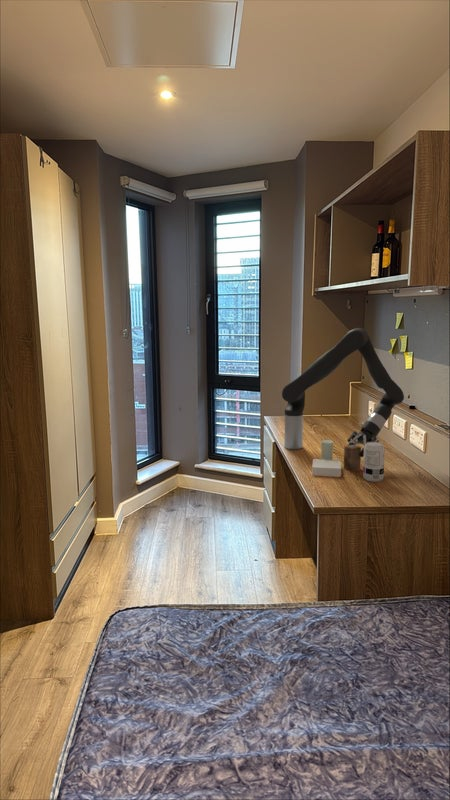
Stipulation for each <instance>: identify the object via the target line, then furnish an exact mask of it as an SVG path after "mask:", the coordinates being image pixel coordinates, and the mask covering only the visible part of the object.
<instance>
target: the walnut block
mask: <svg viewBox="0 0 450 800" xmlns="http://www.w3.org/2000/svg"><path fill="white" fill-rule="evenodd" d="M343 448H344V450H343V453H344V454H343V455H344V456H343V469H346V470H348V471H350V472H354V471H358V470H359V471H360V470H361V459H362V457H360V456H359V453H360V452H361V450H362V447H361V446H357V444H356V445H349V446H348V445H344V447H343Z"/></svg>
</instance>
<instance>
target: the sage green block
mask: <svg viewBox="0 0 450 800" xmlns="http://www.w3.org/2000/svg"><path fill="white" fill-rule="evenodd" d="M333 447H334V441H333V440H329V439H327V440H326V439H325V440H323V439H322V440H321V450H320V451H321V457H320V458H321V459H322V460H334V459H333V457H334V456H333V452H334V450H333V449H334V448H333Z"/></svg>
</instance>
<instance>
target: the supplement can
mask: <svg viewBox="0 0 450 800" xmlns="http://www.w3.org/2000/svg"><path fill="white" fill-rule="evenodd" d="M363 448H364V456H363V461H362V462H363V465H362V467H363V468H362V478H363V479H364V480H365V481H368V482H374V483H377V482H378V483H379V482H382V480H384V478H385V473H384V472H385V455H386V454H385V453H386V452H385V451H386V449H385V448H386V447H385V446H384V444H383V443H381V442H379V441H378V442H367V443H366V444H365V446H364V445H363Z"/></svg>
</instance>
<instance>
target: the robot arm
mask: <svg viewBox="0 0 450 800" xmlns="http://www.w3.org/2000/svg"><path fill="white" fill-rule="evenodd" d="M370 338H371V337H370V336H369V333H368V332H367V331H366V330H365V329H364V328H361V327H356V328H353V329H351V330H349V331H348V332H347V333H346V334H345V335H344V336H343V337H342V338H341V340H340V341H339V342H337V343H336V345H335V346H332V348H331V349H329V350H328V351H326V352H325V353H324V354H322V355H321V356H320V357H318V358H317V359H316V360H315V361H314V362H313V363H312V364H311V365H310V366H308V367H307V368H306V369H305V370H304V371H303V372H302V373H301V374H300V375H299V376H297V378H295V379H293V380H292V381H290V382H289V383H288V384H287V385H285V386H284V387H283V389H282V391H281V397H282V399H283V401H286V402H287V405H286V407H285V409H284V448H285V449H287V450H300V448H301V449H303V444H304V442H303V440H304V439H303V438H304V437H303V436H304V434H303V433H304V423H303V422H304V410H305V405H306V404H305V400H306V391H307V390H308V389H309V388H311V387H312V386H314V385H316V384H317V383H319V382H321V381H323V380H324V379H325V378H327V377H328V376H329V375H330V374H332V373H333V372H334V371H335V370H336V369H337V368H338V367H339V366H340V364H342V362H343V361H344V360H345V359H346V358H347V357H348V356H350V355H351V354H353V353H354V352H356V351H358V352H359V353H360V354H361V356H362V358H363V360H364V362H365V364H366V367H367V370H368V373H369V374H370V377H371V378H372V380H373V381H374V383H375V385H376V387H378V389H382V390H383V391H384V392H385V393H384V394H383V395H382V397H381V398H380V400H379V402H378V405H377V406H376V408H375V409H374V410H373V412H372V413H371V414H369V416H368V417H367V419H366V421H364V423H363V425H362V426H361V428H360V431H359V432H357V431H356V430H354V431H353V432H352V433H351V435H349V437H348V438H347V440H346V441H347V442H348V444H347V446H349V445H356V446H357V445H363V447H362V448H361V452H360V453H359V456H360V457H361V458H364V446H365V444H366V443H367V442H379V441H380V440H379V439H378V437H377V436H378V435H379V433H380V432H381V430H382V429H383V428H384V426H385V425H386V423H387V421H388V419H389V418H390V416H391V415H392V410H393V408H394V407H395V406H396V405H398V404H401V403H403V401H404V399H405V395H404V392H403V390H402V388H401V387H400V386H399V385H398V384H397V383H396V382H395V381H394V380H393V379H392V377H391V375H390V374H389V373H388V371H387V369H386V368H385V366H384V364H383V363H382V361H381V360H380V358H379V356H378V353H377V352H376V350H375V348H374V345H373V343H372V341H371V339H370Z"/></svg>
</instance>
